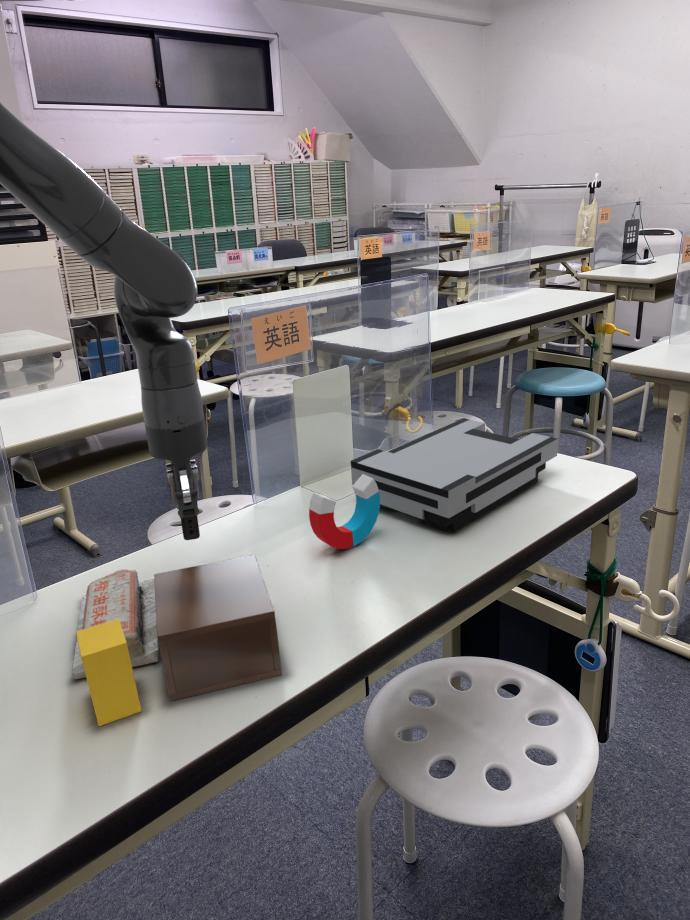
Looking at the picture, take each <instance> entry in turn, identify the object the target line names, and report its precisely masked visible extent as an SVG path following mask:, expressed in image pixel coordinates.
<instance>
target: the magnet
mask: <svg viewBox="0 0 690 920" xmlns="http://www.w3.org/2000/svg"><path fill="white" fill-rule="evenodd" d="M351 487H352V490H353V492H354V494H355V503H356V504H355V508H354V511H353V513H352V516H351V518H349V520H348V521H346V522H345V523H344V524H343V525H340V526H337V525H336V522H335V509H336V504H337V501H336V500H335V499H332V498H330V497H329V496H327V495H323V494H320V493H318V492H312V495H311V498H310V501H309V508H308V520H309V525H310V527H311V530H312V532H313V534H314V535H315V537H316V538H317V539H318V540H319V541H321V542H322V543H324V544H326V545H328V546H330V547H331V548H334V549H337V550H348V549H351V548H354V547H356V546H357V545H360V544H361V543H362V542H363V541H364V540H365V539H367V537H368V536H369V535H370V534H371V532H372V531H373V529H374V527H375V525H376V523H377V521H378V517H379V514H380V509H381V506H380V495H379V490H378V487H377V484H376V482H375V481H374V479H373V478H371V477H368V476H366V475H364V474H362V475H361V477H360V478H359V479H358V480H357V481H356V482H355V484H354V485H351Z"/></svg>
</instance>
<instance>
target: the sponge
mask: <svg viewBox="0 0 690 920" xmlns="http://www.w3.org/2000/svg"><path fill="white" fill-rule="evenodd" d="M75 634H76V638H77V639H78V644H79V649H80V653H81V658H82V662H83V666H84V670H85V674H86V677H85V678H86V681H87V685H88V690H89V694H90V698H91V702H92V705H93V710H94V713H95V717H96V721H97V725H98V727H102V726H104V725H107V724H110V723H113V722H115V721H118V720H121V719H124V718H127V717H130V716H133V715H135V714H139V713H141V712H142V707H141V706H142V705H141V702H140V697H139V693H138V688H137V683H136V680H135V675H134V670H133V667H132V665H131V660H130V656H129V651H128V647H127V642H126V639H125V636H124V633H123V630H122V627H121V624H120V621H119V619H116V620H113V621H110V622H106V623H103V624H100V625H96V626H93V627H90V628H86V629H83V630H80V631H78V630H76V632H75ZM77 639H76V640H77Z"/></svg>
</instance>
